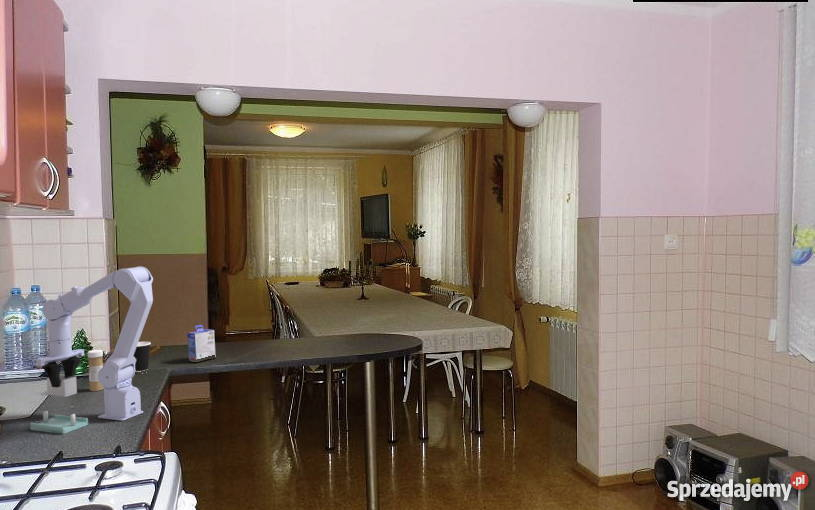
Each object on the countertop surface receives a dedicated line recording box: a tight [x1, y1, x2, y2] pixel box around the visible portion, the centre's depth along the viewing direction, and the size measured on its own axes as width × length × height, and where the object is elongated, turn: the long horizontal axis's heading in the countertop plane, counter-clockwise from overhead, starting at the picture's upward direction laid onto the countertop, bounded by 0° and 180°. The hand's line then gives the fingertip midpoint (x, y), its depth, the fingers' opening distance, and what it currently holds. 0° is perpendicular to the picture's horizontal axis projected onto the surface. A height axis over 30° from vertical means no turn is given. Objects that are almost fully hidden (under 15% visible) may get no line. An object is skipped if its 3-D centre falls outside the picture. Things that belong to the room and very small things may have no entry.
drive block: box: [46, 374, 78, 398], centre depth 179 cm, size 7×4×5 cm, turn 70°
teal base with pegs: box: [29, 410, 89, 435], centre depth 168 cm, size 12×8×4 cm, turn 70°
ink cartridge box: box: [186, 324, 216, 360], centre depth 248 cm, size 10×6×14 cm, turn 148°
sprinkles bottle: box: [87, 349, 104, 392], centre depth 206 cm, size 5×5×14 cm
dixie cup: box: [133, 341, 152, 372], centre depth 230 cm, size 8×8×11 cm
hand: (62, 384), depth 179 cm, fingers closed on drive block, 4 cm apart
